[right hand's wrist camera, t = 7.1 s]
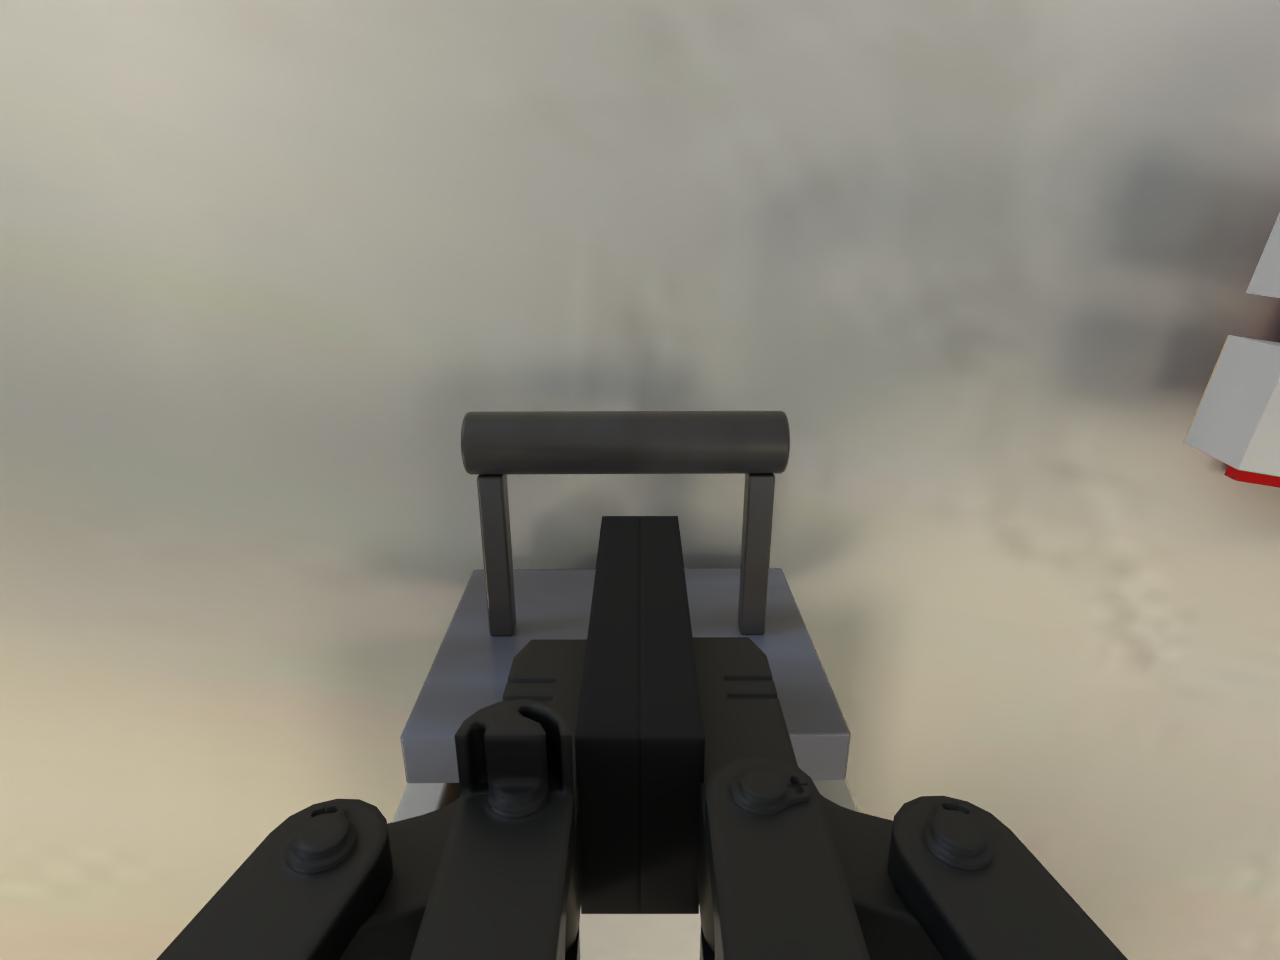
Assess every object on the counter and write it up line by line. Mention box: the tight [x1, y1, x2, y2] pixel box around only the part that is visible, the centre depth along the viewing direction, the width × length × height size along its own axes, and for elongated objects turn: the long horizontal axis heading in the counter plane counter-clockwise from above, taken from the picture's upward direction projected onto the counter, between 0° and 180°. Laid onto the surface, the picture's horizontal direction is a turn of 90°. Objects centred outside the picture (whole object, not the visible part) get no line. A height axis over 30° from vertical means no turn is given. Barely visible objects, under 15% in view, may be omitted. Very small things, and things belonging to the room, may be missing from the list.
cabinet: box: [392, 778, 858, 960], centre depth 22 cm, size 17×10×9 cm, turn 0°
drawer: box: [401, 411, 851, 783], centre depth 20 cm, size 21×9×7 cm, turn 0°
